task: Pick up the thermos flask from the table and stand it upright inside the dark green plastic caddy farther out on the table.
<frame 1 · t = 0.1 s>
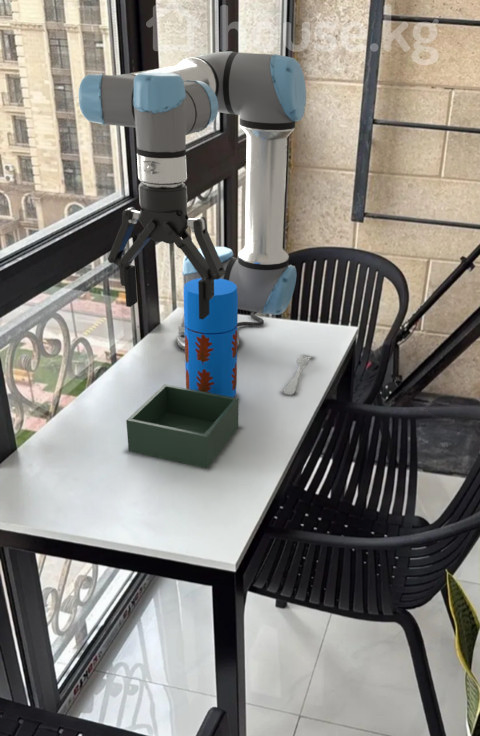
hand: (167, 310, 130), 28 cm above the table, tool pointing down, fingers open, 13 cm apart
caddy: (185, 439, 148), on the table
thermos: (211, 398, 163), on the table
fork: (298, 376, 175), on the table
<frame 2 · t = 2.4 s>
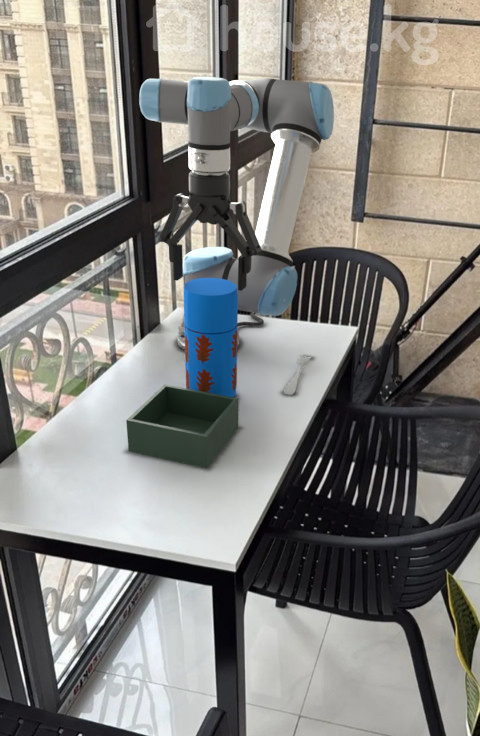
hand: (210, 283, 150), 26 cm above the table, tool pointing down, fingers open, 13 cm apart
nothing on the table moved.
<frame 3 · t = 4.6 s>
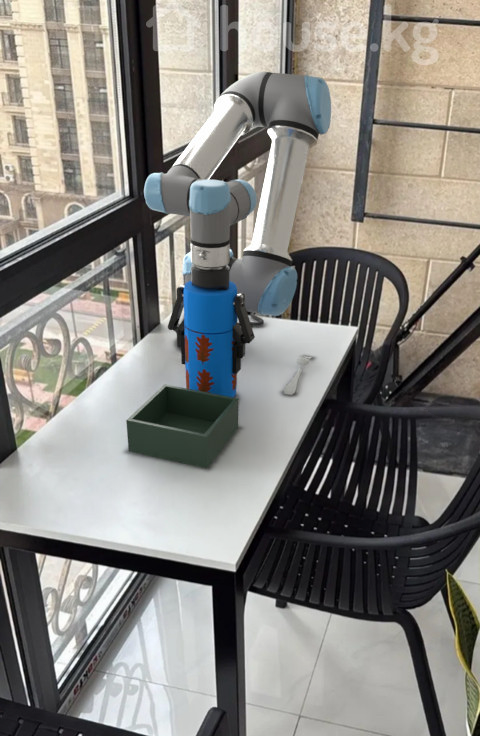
hand: (211, 366, 159), 7 cm above the table, tool pointing down, fingers closed on thermos, 11 cm apart
thermos: (211, 398, 163), on the table, touching gripper
everything else where it was.
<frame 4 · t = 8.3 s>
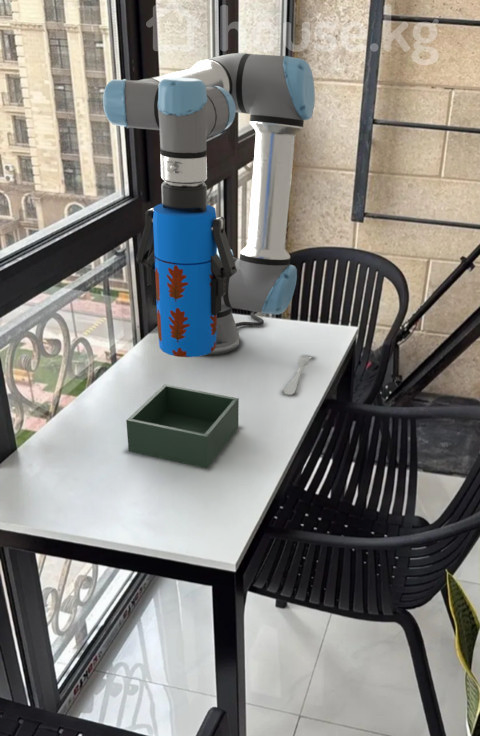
hand: (186, 307, 137), 26 cm above the table, tool pointing down, fingers closed on thermos, 11 cm apart
thermos: (187, 346, 141), point 18 cm above the table, touching gripper
everything else where it was.
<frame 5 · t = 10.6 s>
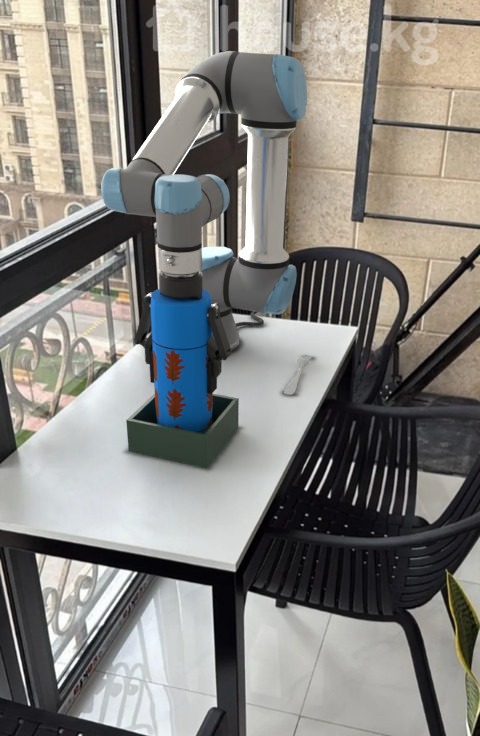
hand: (183, 385, 142), 12 cm above the table, tool pointing down, fingers closed on thermos, 11 cm apart
thermos: (184, 420, 146), point 4 cm above the table, touching gripper
everything else where it was.
when the fingers open (8 cm above the table, at t = 12.2 s): thermos stays where it is, resting on caddy.
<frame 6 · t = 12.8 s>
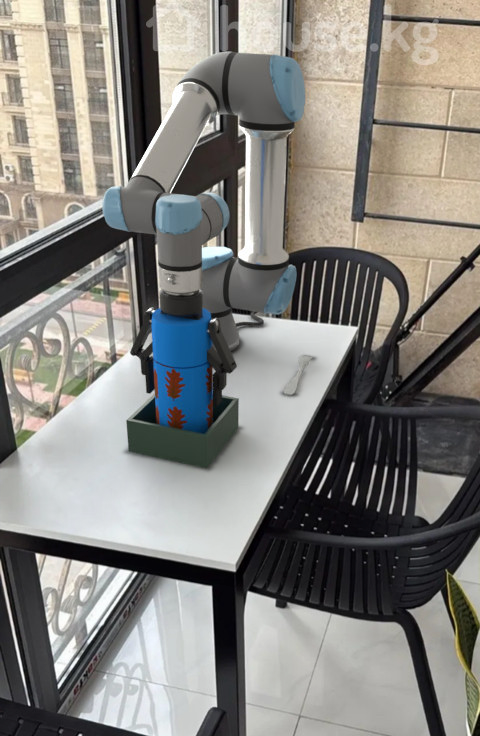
hand: (184, 397, 143), 9 cm above the table, tool pointing down, fingers open, 13 cm apart
thermos: (185, 436, 147), point 1 cm above the table, touching caddy
everything else where it was.
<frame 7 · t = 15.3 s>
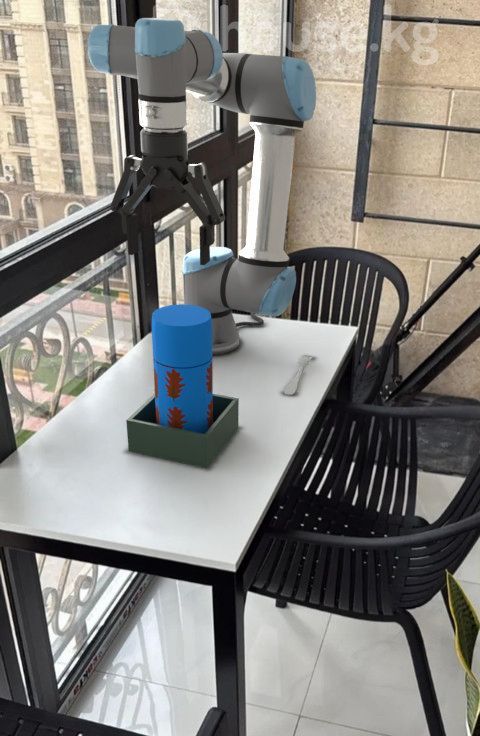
hand: (169, 258, 133), 35 cm above the table, tool pointing down, fingers open, 13 cm apart
nothing on the table moved.
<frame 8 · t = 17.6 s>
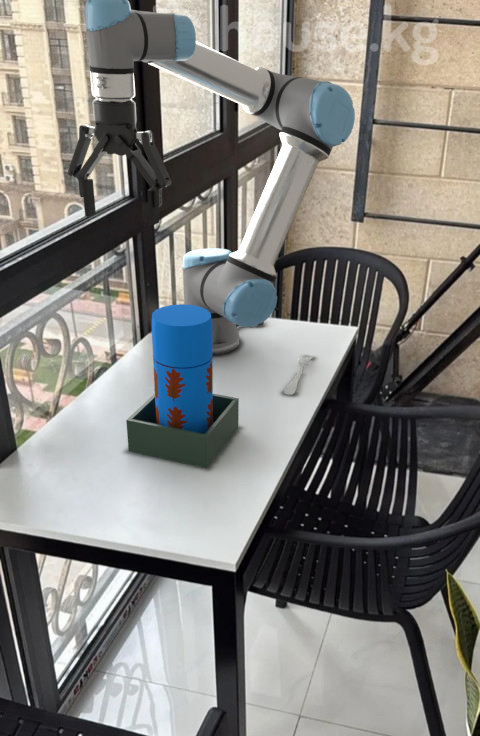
hand: (122, 219, 145), 37 cm above the table, tool pointing down, fingers open, 13 cm apart
nothing on the table moved.
at the end: thermos inside the target area in the caddy (0.0 cm from its centre), point 0.6 cm above the caddy's base; thermos tilted 0°; the gripper is holding nothing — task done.
